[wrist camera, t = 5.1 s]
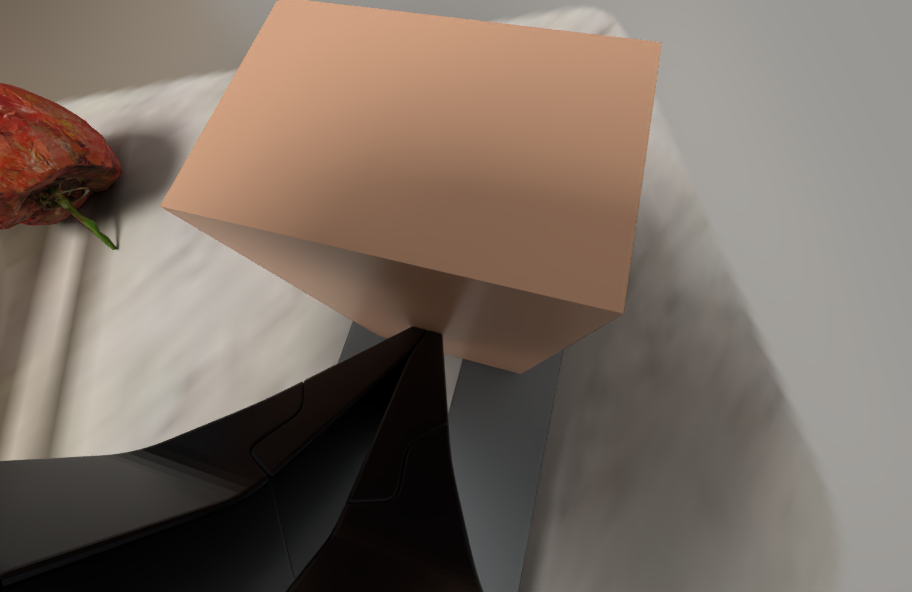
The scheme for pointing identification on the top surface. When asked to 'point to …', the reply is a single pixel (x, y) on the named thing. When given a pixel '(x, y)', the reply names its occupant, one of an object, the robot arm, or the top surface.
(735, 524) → the top surface
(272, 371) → the top surface
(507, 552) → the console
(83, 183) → the pomegranate
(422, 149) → the fader knob
